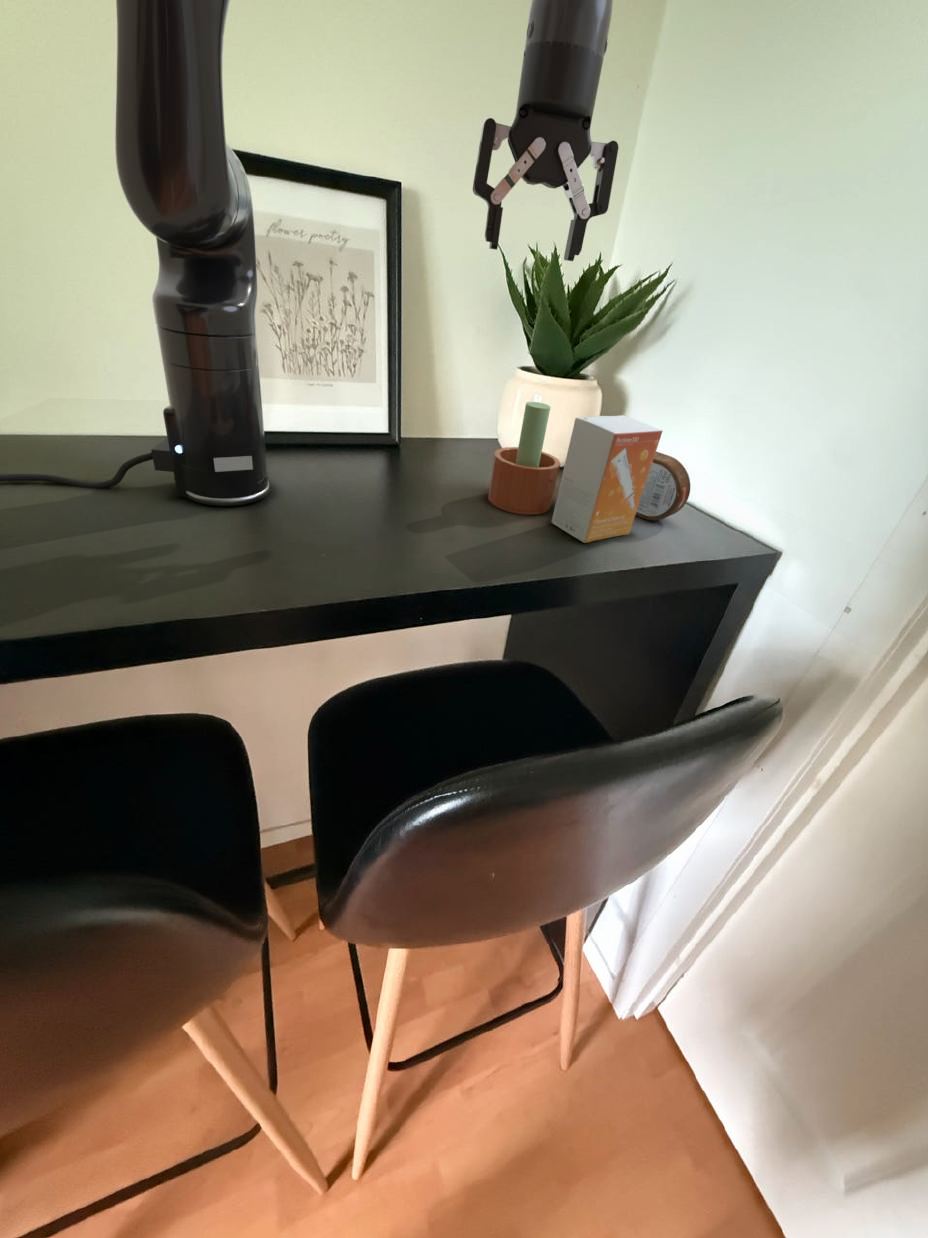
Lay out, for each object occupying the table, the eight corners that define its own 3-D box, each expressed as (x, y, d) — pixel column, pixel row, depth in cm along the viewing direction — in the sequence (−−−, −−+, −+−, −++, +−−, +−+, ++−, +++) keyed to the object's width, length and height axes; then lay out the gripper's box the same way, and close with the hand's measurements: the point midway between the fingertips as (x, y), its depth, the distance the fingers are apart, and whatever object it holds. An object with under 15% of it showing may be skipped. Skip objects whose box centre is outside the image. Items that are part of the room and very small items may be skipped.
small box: (584, 545, 65) (614, 433, 58) (549, 523, 69) (573, 415, 62) (631, 535, 69) (664, 429, 62) (595, 514, 73) (623, 413, 66)
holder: (491, 511, 70) (499, 465, 67) (485, 487, 77) (491, 444, 73) (556, 517, 71) (566, 471, 68) (543, 492, 78) (552, 450, 74)
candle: (511, 501, 72) (528, 406, 65) (508, 493, 75) (524, 400, 68) (533, 503, 72) (552, 409, 66) (529, 495, 75) (547, 403, 68)
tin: (679, 525, 74) (701, 463, 69) (668, 531, 72) (691, 468, 67) (584, 488, 81) (599, 430, 77) (572, 492, 79) (587, 433, 75)
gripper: (624, 75, 56) (584, 263, 65) (486, 47, 54) (464, 244, 63) (649, 54, 50) (601, 265, 59) (494, 21, 48) (469, 245, 57)
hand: (530, 254), depth 61 cm, fingers open, 8 cm apart
